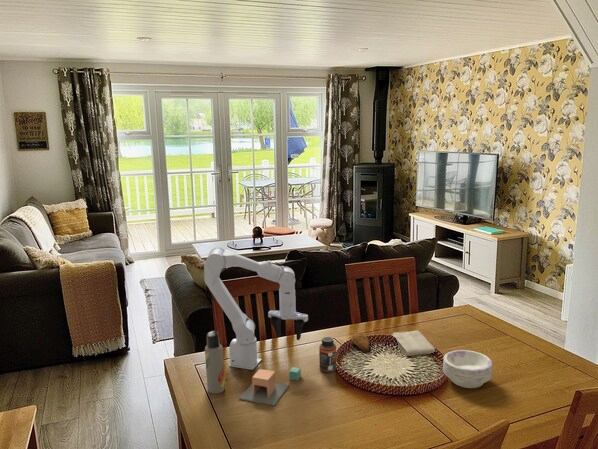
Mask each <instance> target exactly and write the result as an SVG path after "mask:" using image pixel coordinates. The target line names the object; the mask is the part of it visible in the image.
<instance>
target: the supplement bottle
mask: <svg viewBox="0 0 598 449" xmlns="http://www.w3.org/2000/svg"><path fill="white" fill-rule="evenodd" d="M318 352H319V356H318V357H319V358H318V360H319V362H318V363H319V370H320V371H322V372H323V373H333V372H335V371H336V370H337V345H336V344H335V343H334V338H333V337H331V336H326V337H323V338H321V343H320V345H319V350H318Z"/></svg>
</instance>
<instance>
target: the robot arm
mask: <svg viewBox="0 0 598 449" xmlns="http://www.w3.org/2000/svg"><path fill="white" fill-rule="evenodd" d="M234 266H236V267H239V268H242V269H246V270H248V271H252V272H256V273H257V275H258V277H260V278H263V279H265V280H268V281H271V282H275V283H278V284H279V289H278V295H279V299H278V300H279V302H278V303H279V310H269V311H268V312H267V313H268V314H267V315H268V316H267V317H268V318H270V321H269V322H270V323H271V325H272V327H273V329H274V332H275V335H276V337H277V338H280V337H281V336H282V331H281V330H282V329H281V328H282V326H281V324H282V321H281V320H284V321H285V320H293V321H296V322H294V325H295V331H296V334H295V335H296V341H299V340H300V339H301V336H302V331H303V328H304V326H305V323H307V322H308V321H309V315H308V314H306V313H301V312H298V311H297V309H296V307H297V306H296V304H297V303H296V289H295V288H296V286H295V285H296V277H295V276H296V275H295V272H294V270H293V269H292V268H291V267H289V266H284V265H278V264H274V263H272V261H271V260H267V261H266V260H264V261H261V262H258V261H256V260H254V259H251V258H249V257H247V256H243V255H240V254H239V253H236V252H233V251H231V250H229V249H224V248H221V247H213V248H212V249H211V250H210V251H209V253H208V256H207V257H206V260H205V263H204V265H203V270H204V274H203V278H204V279H203V280H204V283H205V285H206V286H207V288H208V289H209V291H210V293H211V294H212V295H213V297H214V299H215V300H216V301H217V303H218V304H219V306H220V307H221V309H222V310H223V312H224V313H225V315H226V316H227V318H228V319H229V321H230V323H231V326H232V330H233V331H234V333H235V337H236V338H233V339H232V340H231V342H230V344H229V348H228V349H229V351H228V352H229V365H228V366H229V367H232V368H240V369H244V370H245V369H246V370H251V371H253V370H254V369H256V367H257V366H258V365H259V363H260V362H262V358H259V357H258V350H257V349H258V347H257V346H258V345H257V337H256V336H255V330H256V324H255V322H254V321H253V320H252V319H250V318H249V317H248V316H247V314H245V313H244V312H243V311H242V310H241V308H240V306H239V305H238V304H237V302H236V301H235V299H234V297H233V296H232V294H231V293H230V292H229V290H228V288H227V287H226V285H225V284H224V282H223V281H222V279H221V278H220V275H221V272H222V270H223V269H224V267H225V269H228V268H232V267H234Z"/></svg>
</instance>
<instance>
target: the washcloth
mask: <svg viewBox="0 0 598 449" xmlns="http://www.w3.org/2000/svg"><path fill="white" fill-rule="evenodd" d="M392 336H393V337H395V338H396V340H397V343H398V345H397V347H398V348H399V349H400V351H402V352H403V355H405V356H407V357H410V356H411V357H412V356H413V357H414V356H417V355H418V356H420V355H421V356H422V355H423V356H424V355H432V354H431V353H433V352H435V351H436V348H435V347H434V346H433V345H432V344H431V343H430V342H429V341H428V339H427V338H426V337H425V336H424V335H423V333H422V332H420V330H412V331H411V330H410V331H397V332H393V333H392V335H391V337H392ZM393 337H392V338H393ZM433 354H434V353H433Z"/></svg>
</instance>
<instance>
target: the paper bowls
mask: <svg viewBox="0 0 598 449" xmlns="http://www.w3.org/2000/svg"><path fill="white" fill-rule="evenodd" d="M442 367H443V368H442V371H443V373H444V375H445V376H446V377H447V378H449V379H450V380H451V382H453V384H455V385H456V386H459V387H461V388H464V389H465V388H466V389H477V388H480V387H481V386H483V385H484V383H487V382H490V380H491V379H492V377H493V361H492V359H490V358H489V357H488V356H487V355H485V354H484V353H480V352H479V351H478V352H477V351H473V350H468V349H467V350H466V349H458V350H457V349H456V350H452V351H449V352H447V353H445V354H444V356H443V364H442Z"/></svg>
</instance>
